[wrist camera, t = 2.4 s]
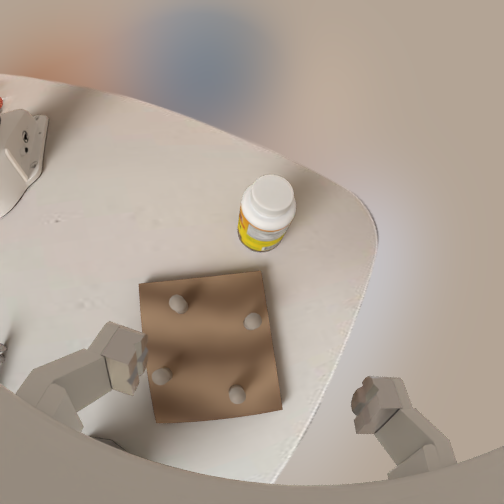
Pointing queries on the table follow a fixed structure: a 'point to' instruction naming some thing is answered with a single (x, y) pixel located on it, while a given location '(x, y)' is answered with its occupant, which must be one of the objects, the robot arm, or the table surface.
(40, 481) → the robot arm
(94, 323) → the table surface
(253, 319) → the peg stand
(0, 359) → the caliper
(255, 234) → the supplement bottle
